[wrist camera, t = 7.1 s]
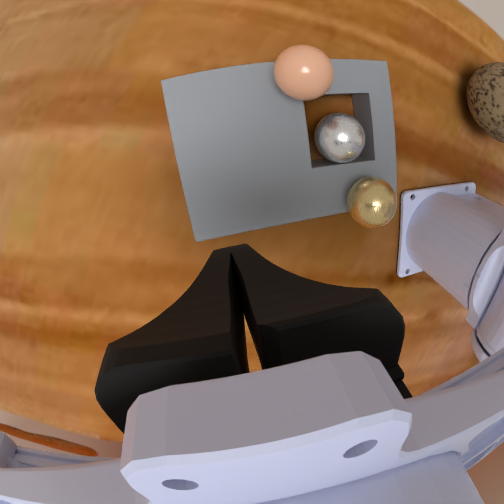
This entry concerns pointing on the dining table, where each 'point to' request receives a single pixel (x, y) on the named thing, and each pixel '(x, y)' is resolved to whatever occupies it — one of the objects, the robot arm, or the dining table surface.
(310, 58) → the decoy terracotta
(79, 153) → the dining table surface
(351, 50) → the dining table surface
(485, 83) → the decorative egg
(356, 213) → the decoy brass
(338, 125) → the steel ball
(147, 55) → the dining table surface
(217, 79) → the grey tray with hole
